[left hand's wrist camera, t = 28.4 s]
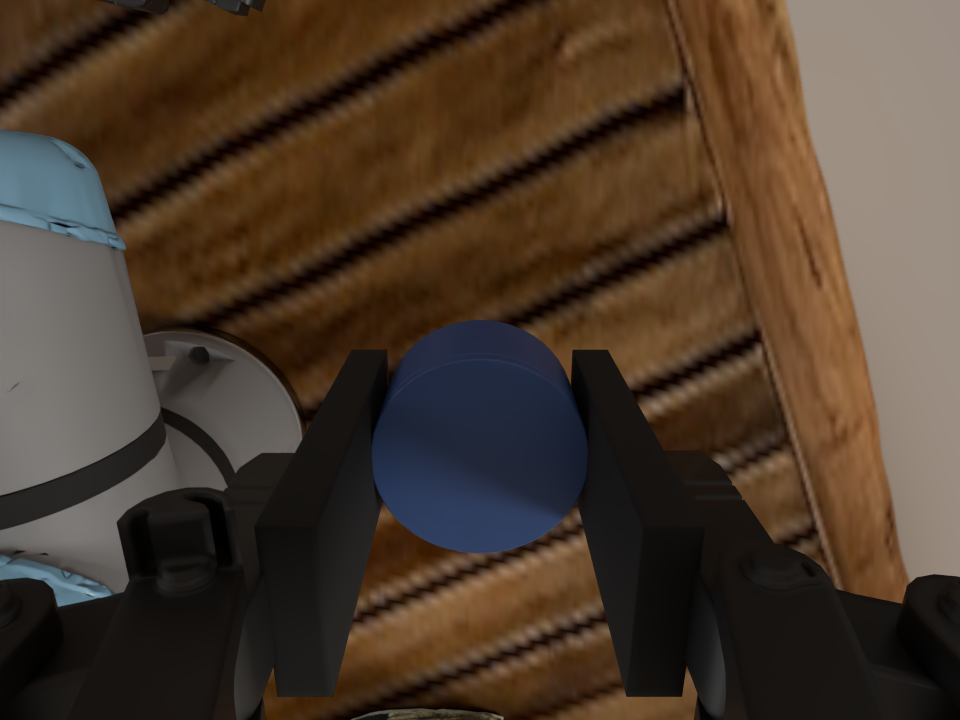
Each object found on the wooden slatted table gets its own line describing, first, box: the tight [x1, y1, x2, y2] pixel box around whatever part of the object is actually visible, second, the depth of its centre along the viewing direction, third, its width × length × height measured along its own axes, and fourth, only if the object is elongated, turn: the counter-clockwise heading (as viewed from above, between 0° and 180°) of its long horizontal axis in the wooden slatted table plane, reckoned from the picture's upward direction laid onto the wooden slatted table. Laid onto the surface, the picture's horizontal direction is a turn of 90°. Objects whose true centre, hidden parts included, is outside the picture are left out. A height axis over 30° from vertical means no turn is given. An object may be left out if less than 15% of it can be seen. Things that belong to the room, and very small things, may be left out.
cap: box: [371, 320, 588, 553], centre depth 13 cm, size 4×4×2 cm
